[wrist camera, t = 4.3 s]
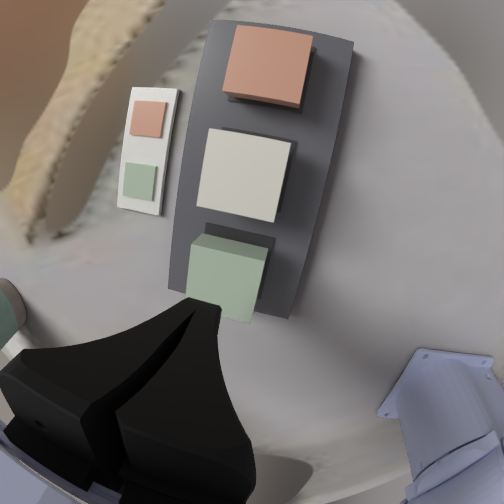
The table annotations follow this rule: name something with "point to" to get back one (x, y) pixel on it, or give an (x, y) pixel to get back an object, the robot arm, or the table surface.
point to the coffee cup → (10, 311)
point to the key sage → (226, 275)
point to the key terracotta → (268, 65)
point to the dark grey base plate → (297, 170)
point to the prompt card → (146, 148)
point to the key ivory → (243, 174)
